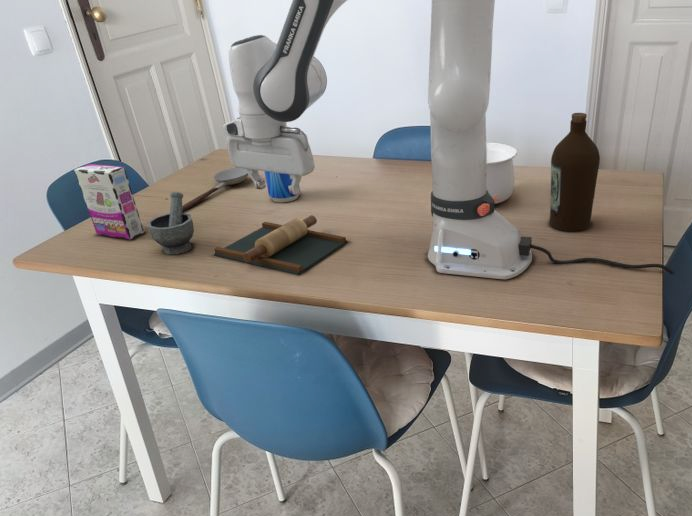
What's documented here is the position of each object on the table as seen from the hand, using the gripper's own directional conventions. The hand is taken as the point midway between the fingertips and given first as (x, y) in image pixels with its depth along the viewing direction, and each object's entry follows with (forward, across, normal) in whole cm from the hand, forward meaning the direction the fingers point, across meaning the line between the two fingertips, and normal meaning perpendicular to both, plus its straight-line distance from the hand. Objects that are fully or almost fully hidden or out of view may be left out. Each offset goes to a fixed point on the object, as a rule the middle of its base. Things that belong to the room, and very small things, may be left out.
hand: (277, 191), depth 135 cm
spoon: (+13, +44, -20) cm, 50 cm away
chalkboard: (+14, +2, +1) cm, 14 cm away
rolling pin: (+14, +1, +1) cm, 14 cm away
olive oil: (+15, -53, -38) cm, 67 cm away
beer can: (+14, +23, -26) cm, 37 cm away
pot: (+15, -27, -45) cm, 55 cm away
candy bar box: (+13, +45, +10) cm, 48 cm away
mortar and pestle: (+13, +25, +10) cm, 30 cm away
